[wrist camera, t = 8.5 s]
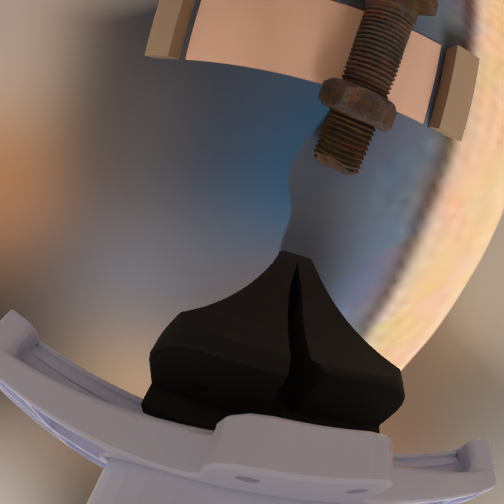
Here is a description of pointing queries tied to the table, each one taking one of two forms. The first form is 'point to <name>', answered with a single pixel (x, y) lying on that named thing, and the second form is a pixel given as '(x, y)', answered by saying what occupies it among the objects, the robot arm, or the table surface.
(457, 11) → the table surface
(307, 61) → the strip
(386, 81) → the bolt
